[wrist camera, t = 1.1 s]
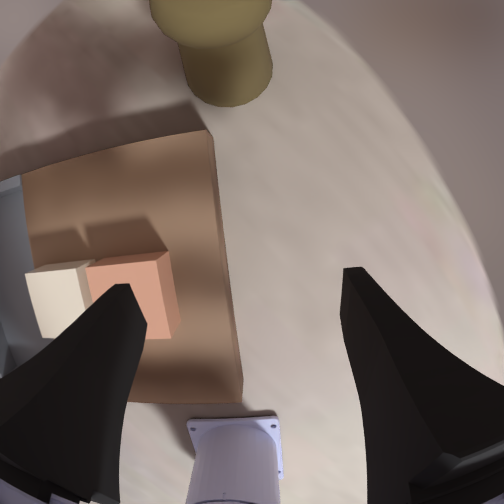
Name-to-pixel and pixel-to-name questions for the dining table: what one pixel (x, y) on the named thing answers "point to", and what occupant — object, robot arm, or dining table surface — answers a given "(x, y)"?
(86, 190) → the tan slab
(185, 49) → the cork
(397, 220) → the dining table surface
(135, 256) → the terracotta tile
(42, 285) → the cream tile
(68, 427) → the robot arm
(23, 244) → the box
